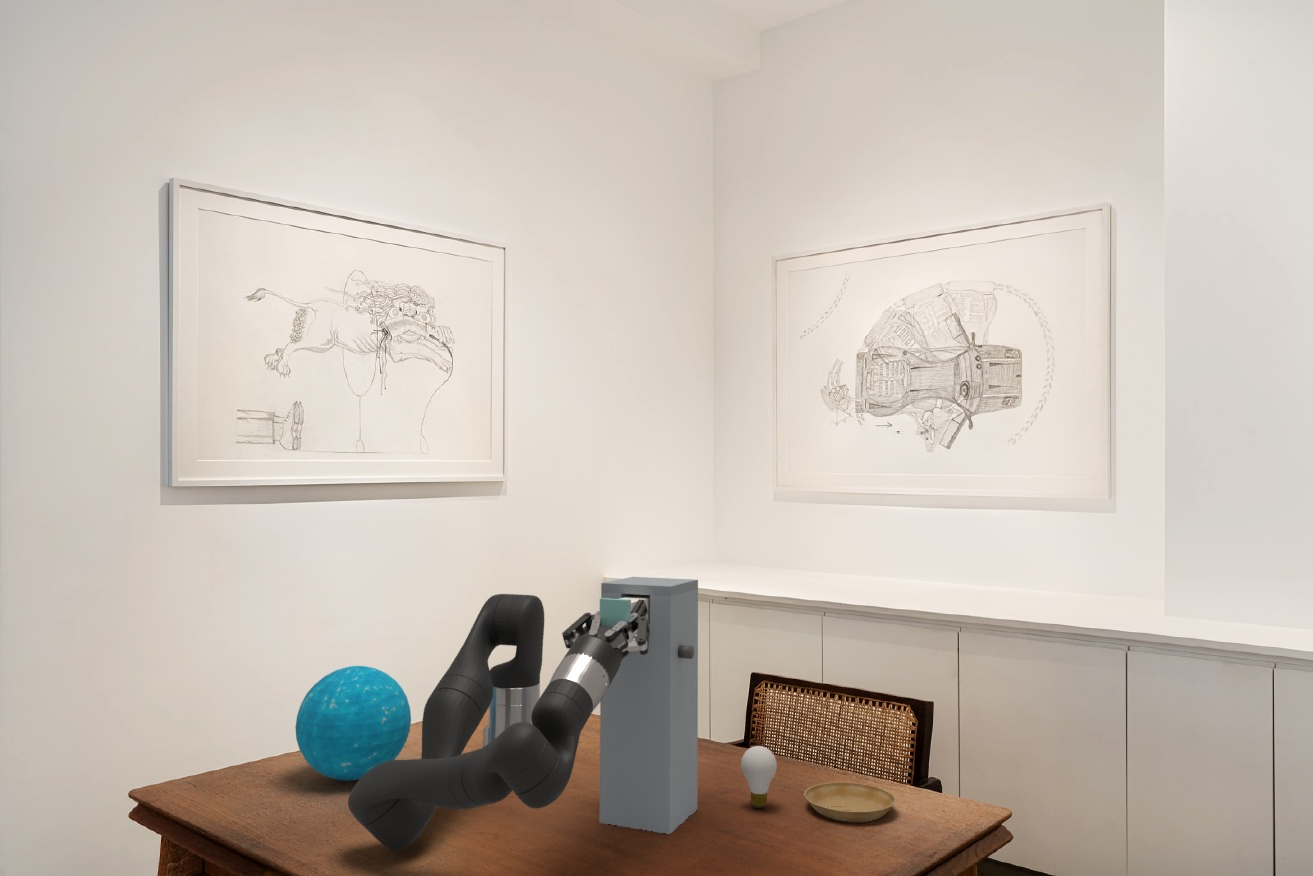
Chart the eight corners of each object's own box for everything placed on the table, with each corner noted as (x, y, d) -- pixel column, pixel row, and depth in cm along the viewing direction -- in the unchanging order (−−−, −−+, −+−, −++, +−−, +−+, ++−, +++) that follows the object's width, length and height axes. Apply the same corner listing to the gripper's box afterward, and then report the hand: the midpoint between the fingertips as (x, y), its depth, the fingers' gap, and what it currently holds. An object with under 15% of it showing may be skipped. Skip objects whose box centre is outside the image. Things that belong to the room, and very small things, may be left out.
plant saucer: (839, 834, 142) (839, 816, 142) (787, 804, 155) (787, 788, 156) (915, 820, 148) (915, 803, 148) (858, 792, 162) (858, 777, 162)
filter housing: (588, 821, 146) (590, 582, 148) (620, 798, 157) (622, 576, 159) (681, 836, 140) (682, 587, 142) (708, 811, 151) (709, 580, 153)
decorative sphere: (360, 802, 154) (363, 681, 155) (268, 787, 162) (271, 672, 163) (432, 769, 173) (434, 661, 174) (346, 757, 180) (348, 654, 181)
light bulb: (780, 804, 155) (779, 743, 155) (772, 816, 149) (772, 753, 150) (745, 800, 157) (745, 740, 157) (737, 811, 151) (737, 749, 152)
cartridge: (599, 629, 138) (599, 598, 139) (649, 614, 156) (649, 587, 156) (627, 631, 137) (627, 600, 137) (675, 616, 154) (675, 588, 154)
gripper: (624, 659, 124) (666, 585, 138) (532, 651, 130) (582, 581, 144) (635, 702, 127) (675, 625, 141) (545, 693, 133) (592, 620, 147)
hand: (628, 603), depth 143 cm, fingers closed on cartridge, 4 cm apart
